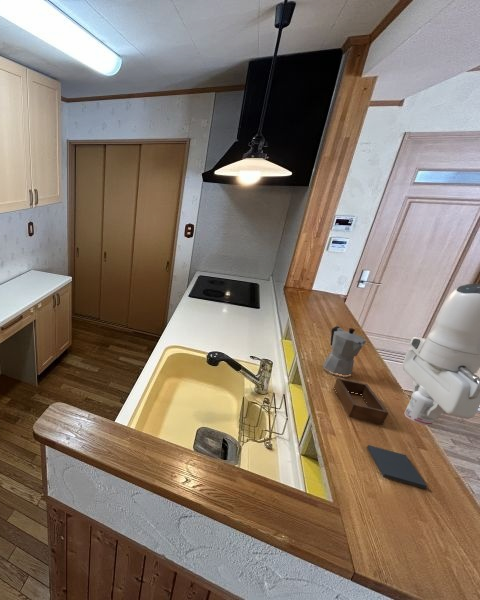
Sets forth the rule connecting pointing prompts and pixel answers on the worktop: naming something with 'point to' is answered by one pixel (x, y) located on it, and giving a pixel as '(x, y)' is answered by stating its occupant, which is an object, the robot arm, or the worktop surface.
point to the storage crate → (370, 413)
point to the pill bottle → (419, 407)
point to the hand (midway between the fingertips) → (423, 408)
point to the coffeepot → (343, 351)
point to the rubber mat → (396, 466)
